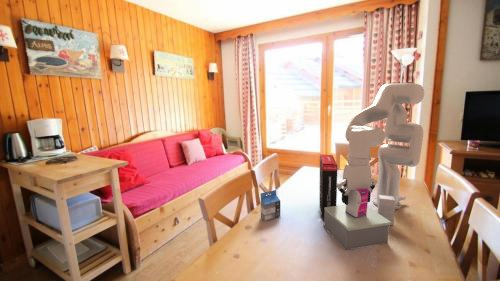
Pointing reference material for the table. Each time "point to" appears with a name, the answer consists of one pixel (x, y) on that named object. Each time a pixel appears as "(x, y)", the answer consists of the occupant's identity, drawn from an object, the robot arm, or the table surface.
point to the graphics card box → (327, 182)
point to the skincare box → (386, 207)
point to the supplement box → (357, 203)
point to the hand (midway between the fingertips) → (355, 202)
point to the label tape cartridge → (270, 205)
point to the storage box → (355, 234)
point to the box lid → (356, 223)
